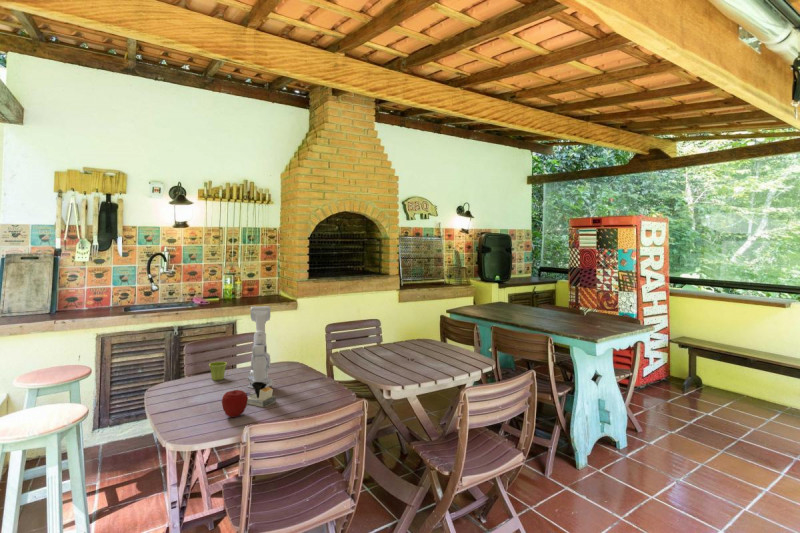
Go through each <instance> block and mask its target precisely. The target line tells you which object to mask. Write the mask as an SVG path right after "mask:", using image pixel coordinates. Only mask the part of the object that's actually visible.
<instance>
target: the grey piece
mask: <svg viewBox="0 0 800 533" xmlns="http://www.w3.org/2000/svg"><path fill="white" fill-rule="evenodd" d="M276 402H277V396H276V395H272V397H271V398H269V399H266V400H264V401H260V400H259V398H257V395H256V392H255V393H254V392H250V393H249V396H248V400H247V405H250V406H255V407H259V408H263V409H264V408H266V407H269V406H271V405H273V404H275V403H276Z"/></svg>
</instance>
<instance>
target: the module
mask: <svg viewBox="0 0 800 533" xmlns="http://www.w3.org/2000/svg"><path fill="white" fill-rule="evenodd" d="M273 391H274V389H272V388H271V387H270V386H269V387H265V388H263V389H261V390H260V393H259V400H260V401H264V400H266V399H269V398H271V397H273Z"/></svg>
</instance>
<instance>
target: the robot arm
mask: <svg viewBox="0 0 800 533" xmlns="http://www.w3.org/2000/svg"><path fill="white" fill-rule="evenodd" d="M250 319H251V321H252V322H255V326H256V329H255V330H256V331H255V332H254V333H253V345H252V349H251V351H252V352H251V353H252V354H251V357H250V358H251V360H250V371H249V374H248V376H246V381H247V382H248V386H247V388H250V389H253V390H254V392H255V394H256V395H257V398H259V393H260V390H261V389H263V388H265V387H269V388H270V387H271V386H272V385H273V384H274V380H273V379H270V378H269V370H271V354H270V353H269V352H268V351H267V349H268V347H267V333H266V323H267V322H268V321H271V320H270V319H271V306H270V305H267V306H264V305H263V306H251V307H250Z"/></svg>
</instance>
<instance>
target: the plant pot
mask: <svg viewBox="0 0 800 533" xmlns="http://www.w3.org/2000/svg"><path fill="white" fill-rule="evenodd" d="M227 364H228V362H227V361H226V362H225V361H215V362H214V361H213V362H210V363H209V364H208V366H209V369H210V374H211V380H212V381H221V380H223V379H224V378H225V371H226V367H227Z"/></svg>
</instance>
